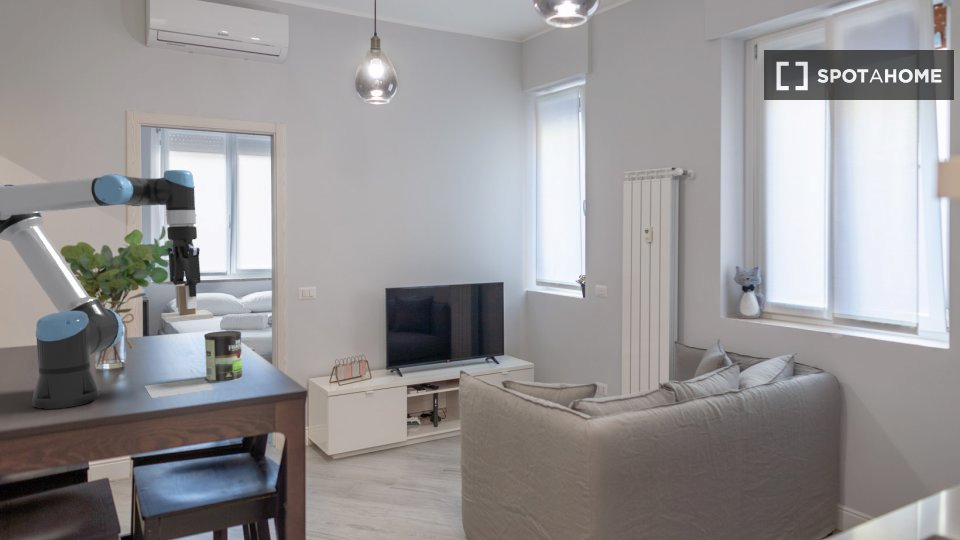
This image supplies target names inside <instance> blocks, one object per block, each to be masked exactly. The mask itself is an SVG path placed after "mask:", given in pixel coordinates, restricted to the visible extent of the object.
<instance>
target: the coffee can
mask: <svg viewBox="0 0 960 540" xmlns="http://www.w3.org/2000/svg"><path fill="white" fill-rule="evenodd" d="M203 336H204V346H205V351H204V352H205V368H206V369H205V370H206V373H205V374H206V381H207V382H209V383H210V382H212V383H223V382H232V381H237V380H240V379H242V378H243V362H242V360H243V357H242V332H241V331H238V330H219V331H213V332H208V333H205V334H204V335H203Z"/></svg>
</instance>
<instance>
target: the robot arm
mask: <svg viewBox="0 0 960 540" xmlns="http://www.w3.org/2000/svg"><path fill="white" fill-rule="evenodd" d="M194 184H195V183H194V175H193V173H192V172H191V171H190V170H187V169H186V170H185V169H169V170H165V171H164V172H163V177H159V178H156V177H155V178H152V177H151V178H141V177H135V176H126V175H120V174H106V175H102V176H100V177H99V176H98V177H89V178H79V179H77V178H76V179H70V180H69V179H67V180H58V181H47V182H38V183H37V182H36V183H28V184H17V185H15V184H2V183H0V240H2V241H7V242H10V244H11V245H12V247H13V248H14V250H15V251H16V252H17V254H18V255H19V257H20V259H22V261H23V263H24V265H25V266H26V267H27V268H28V270H29V271H30V273H31V274H32V276H33V277H34V279H35V280H36V282H37V283H38V284H39V285H40V287H41V289H42V290H43V291H44V293H45V294H46V295H47V297H48V299H49V300H50V302H51V303H52V304H53V306H54V307H55V309H56V310H57V312H54V313H50V314H46V315H44V316H42V317H41V318H39V319H38V320H37V322H36V331H35V337H36V348H37V351H36V352H37V364H38V378H37V381H36V384H35V388H34V391H33V394H32V398H31V399H32V407H33V406H34V408H35V407H37V408H36V409H41V408H44V409H45V410H47V409H48V410H50V409H51V410H52V409H55V410H56V409H64V408H71V407H76V406H82V405H85V404H90V403H93V402H94V401H95V400H96V399H99V397H100V387H99V386H98V384H97V381H96V379H95V377H94V375H93V372H92V371H91V357H90V356H91V355H92V354H96V353H99V352H103V351H106V350H107V349H109V348H112V347H113V346H115V345H116V344H117V343H118V342H119V340H121V337H122V336H123V335H122V334H123V330H124V324H123V321H122V318H121V317H120V316H119V313H117V312H115V311H114V310H113V309H110V308H106V307H105V306H104V305H103V304H102V302H101V300H100V299H99V298H97V297H93V296H90V295H89V294H88V292H87V291H86V289H85V287H84V286H83V285H82V283H81V282H80V281H79V279H78V278H77V276H76V274H74V272H73V271H72V269H71V268H70V266H69V264H68V263H67V262H66V260H65V259H64V257H63V256H62V254H61V253H60V252H59V250H58V249H57V248H56V246H55V244H54V243H53V241H52V240H51V239H50V237H49V236H48V234H47V233H46V231H45V230H44V229H43V223H44V218H43V217H42V213H46V212H47V213H48V212H55V211H56V212H57V211H65V210H77V209H85V208H96V207H97V208H98V207H109V206H117V205H118V206H119V205H120V206H121V205H125V206H128V207H129V206H131V207H141V206H142V207H143V206H146V207H147V206H157V205H158V206H165V214H166V215H165V219H166V224H167V225H168V227H167V228H166V230H167V231H166V232H167V239H168V240H169V241H172V247H167V254H168V266H169V268H168V269H169V282H170V283H173V285H174V291H175V308H177V309H178V299H177V286H181V285H185V291H186V308H187V309H192V308H195V309H198V303H197V302H198V300H197V285H198V284H200V283H201V282H202V281H201V268H200V267H201V266H200V248H199V247H195V246H194V243H193V242H194V241H193V240H197V238H198V235H197V233H198V232H197V230H198V229H197V227H196V226H194V225H195V224H197V221H196V220H197V213H196V199H195V185H194ZM44 409H43V410H44Z"/></svg>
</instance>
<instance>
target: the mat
mask: <svg viewBox="0 0 960 540" xmlns="http://www.w3.org/2000/svg"><path fill="white" fill-rule="evenodd" d="M144 388H145V390H146V391H147V393H148V395H149V397H150V398H151V399H154V398H155V399H156V398H163V397H171V396H178V395H185V394H192V393H199V392H206V391H213V390H214V391H215V390H216V389H215V387H214V386H212V385H211V383H210V382H209V381H207V379H205V378H203V377H202V378H195V379H189V380H181V381H171V382H165V383H156V384H150V385H144Z"/></svg>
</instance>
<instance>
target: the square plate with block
mask: <svg viewBox="0 0 960 540" xmlns="http://www.w3.org/2000/svg"><path fill="white" fill-rule="evenodd" d="M177 299H178V308H177V312H176V311H175V312H165V313H163V312H162V313H161V314H160V315H161V316H160V317H161V319H162V320H164V321H165V323H166V324H167V323H175V322H176V323H179V322H189V321H199V320H209V319H214V313H212V312H211V311H209V310H207V309H201V310H200V309H199V310H198V309H196V308H192V309H187V308H186V291H185V285H181V286H177Z"/></svg>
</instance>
